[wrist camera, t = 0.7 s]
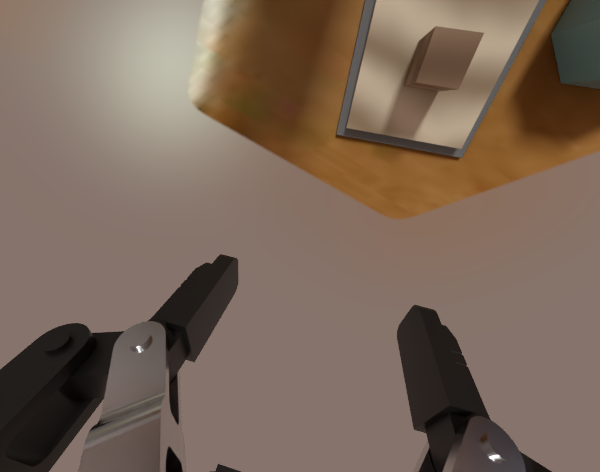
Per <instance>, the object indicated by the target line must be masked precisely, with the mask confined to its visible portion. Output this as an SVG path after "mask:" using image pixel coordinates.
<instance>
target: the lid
mask: <svg viewBox="0 0 600 472" xmlns="http://www.w3.org/2000/svg"><path fill="white" fill-rule="evenodd" d="M538 2H539V0H376V4H375V8H374V12H373V16H372V21H371V25H370V29H369V33H368V38H367V42H366V46H365V50H364V55H363V59H362V63H361V67H360V72H359V76H358V80H357V84H356V89H355V93H354V97H353V101H352V106H351V110H350V114H349V118H348V123H347V127H346V128H349V129H355V130H360V131H366V132H371V133H377V134H382V135H388V136H393V137H398V138H404V139H409V140H415V141H420V142H426V143H431V144H437V145H442V146H447V147H453V148H458V149H462V147H463V145H464V143H465V141H466V139H467V137H468V135H469V133H470V132H471V130H472V128H473V126H474V124H475V122H476V120H477V118H478V116H479V114H480V112H481V110H482V109H483V107H484V105H485V103H486V101H487V99H488V97H489V95H490V93H491V91H492V89H493V88H494V86H495V84H496V82H497V80H498V78H499V76H500V74H501V72H502V70H503V68H504V67H505V65H506V63H507V61H508V59H509V57H510V55H511V53H512V51H513V49H514V47H515V46H516V44H517V42H518V40H519V38H520V36H521V34H522V32H523V30H524V28H525V26H526V24H527V23H528V21H529V19H530V17H531V15H532V13H533V11H534V9H535V7H536V5H537V3H538Z"/></svg>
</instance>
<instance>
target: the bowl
mask: <svg viewBox="0 0 600 472" xmlns="http://www.w3.org/2000/svg"><path fill="white" fill-rule="evenodd" d="M551 37H552V42H553V47H554V52H555V57H556V62H557V67H558V72H559V76H560V81H561V84H569V85H575V86H582V87H588V88H595V89H600V0H571V1H570V2H569V4H568V6H567V8H566V9H565V11H564V13H563V14H562V16H561V18H560V20H559V21H558V23H557V25H556V27H555V28H554V30H553V32H552V33H551Z"/></svg>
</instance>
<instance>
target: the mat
mask: <svg viewBox="0 0 600 472" xmlns="http://www.w3.org/2000/svg"><path fill="white" fill-rule="evenodd" d="M545 2H546V0H539V2H538V3H537V5H536V7H535V9H534V11H533V13H532V15H531V17H530V19H529V21H528V23H527V24H526V26H525V28H524V30H523V32H522V34H521V36H520V38H519V40H518V42H517V44H516V46H515V47H514V49H513V51H512V53H511V55H510V57H509V59H508V61H507V63H506V65H505V67H504V68H503V70H502V72H501V74H500V76H499V78H498V80H497V82H496V84H495V86H494V88H493V89H492V91H491V93H490V95H489V97H488V99H487V101H486V103H485V105H484V107H483V109H482V110H481V112H480V114H479V116H478V118H477V120H476V122H475V124H474V126H473V128H472V130H471V132H470V133H469V135H468V137H467V139H466V141H465V143H464V145H463V147H462V149H458V148H453V147H447V146H442V145H437V144H431V143H426V142H420V141H415V140H409V139H404V138H398V137H393V136H388V135H382V134H377V133H371V132H366V131H360V130H355V129H349V128H346V127H347V123H348V118H349V114H350V110H351V106H352V101H353V97H354V93H355V89H356V84H357V80H358V76H359V72H360V67H361V63H362V59H363V55H364V50H365V46H366V42H367V38H368V33H369V29H370V25H371V21H372V16H373V12H374V8H375V4H376V0H365V4H364V9H363V14H362V18H361V23H360V27H359V32H358V37H357V41H356V46H355V51H354V55H353V60H352V64H351V69H350V74H349V78H348V83H347V88H346V92H345V97H344V102H343V106H342V111H341V115H340V120H339V125H338V129H337V134H336V135H342V136H347V137H352V138H358V139H363V140H369V141H374V142H379V143H385V144H390V145H395V146H401V147H406V148H411V149H417V150H422V151H427V152H433V153H438V154H443V155H449V156H454V157H459V158H462V157H463V155H464V153H465V151H466V149H467V148H468V146H469V144H470V142H471V140H472V138H473V136H474V134H475V133H476V131H477V129H478V127H479V125H480V123H481V121H482V120H483V118H484V116H485V114H486V112H487V110H488V108H489V106H490V105H491V103H492V101H493V99H494V97H495V95H496V93H497V92H498V90H499V88H500V86H501V84H502V82H503V80H504V78H505V77H506V75H507V73H508V71H509V69H510V67H511V65H512V64H513V62H514V60H515V58H516V56H517V54H518V52H519V51H520V49H521V47H522V45H523V43H524V41H525V39H526V37H527V36H528V34H529V32H530V30H531V28H532V26H533V24H534V23H535V21H536V19H537V17H538V15H539V13H540V11H541V9H542V8H543V6H544V4H545Z"/></svg>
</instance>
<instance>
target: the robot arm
mask: <svg viewBox="0 0 600 472" xmlns="http://www.w3.org/2000/svg"><path fill="white" fill-rule="evenodd" d="M237 285H238V260H237V258H233V257H229V256H226V255H219V256H218V257H217V259H216V260H215V261H214V262H213V263H212V264H210V263H205V264H203V265H201V266H200V267H198V268H196V269H195V270H194V271H193V272H192V273H191V274H190V276H189V277H188V278H187V280H185V281H184V282H183V283H182V284H181V287H179V288H178V289H177V290H176V291H175V292H174V293H173V295H172V296H171V297H170V298H169V299H168V300H167V301H166V302H165V304H164V305H163V306H162V307H161V308H160V309H159V310H158V311H157V313H156V314H155V315H154V316H153V317H152V318H151V319H150V320H148V321H147V322H142V323H139V324H136V325H134V326H132V327H130V328H129V329H127V330H126V331H122V332H104V333H91V332H90V330H89V329H88V328H87V326H85V325H83V324H79V323H72V324H66V325H62V326H59V327H57V328H55V329H52V330H50V331H48V332H46V333H45V334H43V335H42V336H40V337H39V338H38V339H37V340H35V341H34V342H33V343H32V344H31V345H29V346H28V347H27V348H26V349H25V350H23V351H22V352H21V353H20V354H19V355H17V356H16V357H15V358H14V359H13V360H11V361H10V362H9V363H8V364H7V365H5V366H4V367H3V368H2V369H1V370H0V472H49V471H50V469H51V468H52V466H53V465H54V464H55V463H56V461H57V460H58V459H59V457H60V456H61V455H62V453H63V452H64V451H65V449H66V448H67V446H68V445H69V444H70V443H71V441H72V440H73V439H74V437H75V436H76V435H77V433H78V432H79V431H80V429H81V428H82V427H83V425H84V424H85V423H86V421H87V420H88V419H89V417H90V416H91V415H92V413H93V412H94V411H95V409H96V408H97V407H98V405H99V404H100V403H101V402H102V400H103V399H104V402H103V408H102V413H101V417H100V420H99V422H98V424H96V425H95V426H93V427H92V428H91V430H90V431H89V433H88V435H87V438H86V440H85V444H84V447H83V452H82V457H81V461H80V466H79V471H78V472H186V460H185V446H184V438H183V432H182V424H181V401H180V378H179V369H180V368H181V366H182V364H183V363H184V361H185V360H189V361H193V362H195V360H196V359H197V356H198V355H199V354H200V352H201V350H202V348H203V346H204V345H205V343H206V342H207V340H208V338H209V336H210V335H211V333H212V331H213V330H214V328H215V326H216V325H217V323H218V321H219V319H220V318H221V316H222V314H223V312H224V311H225V309H226V307H227V306H228V304H229V302H230V301H231V299H232V297H233V295H234V294H235V292H236V289H237ZM397 340H398V345H399V350H400V356H401V362H402V367H403V373H404V378H405V383H406V389H407V394H408V400H409V405H410V411H411V416H412V421H413V427H414V430H417V431H421V432H424V433H426V434H427V438H428V443H427V444H426V445H425V446H424V449H423V451H422V453H421V455H420V457H419V459H418V462H417V464H416V467H415V468H414V471H413V472H551V471H550V470H548V469H546V468H545V467H543V466H542V465H540V464H539V463H537V462H535V461H534V460H532V459H531V458H529V457H527V456H526V455H524V454H523V453H521V452H520V451H519V450H518V448H517V446H516V445H515V443H514V442H513V440H512V439H511V438H510V437H509V435H508V434H507V433H506V432H505V431H504V430H503V429H502V428H501V427H499V426H498V425H497V424H496V423H494V422H493V421H491V419H490V418H489V415H488V413H487V411H486V409H485V406H484V404H483V402H482V399H481V397H480V394H479V392H478V390H477V387H476V385H475V383H474V380H473V378H472V376H471V373H470V371H469V369H468V367H467V366H466V365H467V364H466V361H465V359H464V356H463V355H462V352H461V349H460V347H459V345H458V342H457V340H456V338H455V337H454V336H453V334H452V333H451V332H450V331H449V329H448V328H447V327H446V326H444V325H441V322H440V319H439V317H438V314H437V313H436V311H435V310H433V309H429V308H425V307H421V306H418V305H414V306H413V307H412V308H411V309H410V311H409V312H408V313H407V315H406V316H405V318H404V319H403V320H402V322H401V323H400V325H399V327H398V331H397ZM212 472H240V471H237V470H234V469H231V468H229V467H226V466H223V465H219V464H218V466H217V468H216V471H212Z"/></svg>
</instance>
